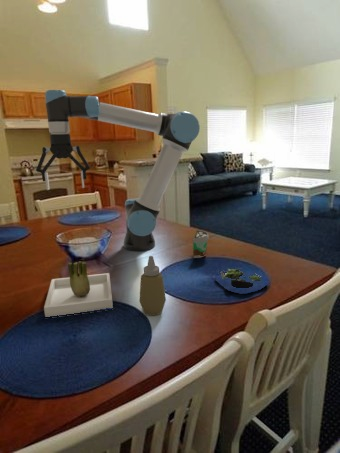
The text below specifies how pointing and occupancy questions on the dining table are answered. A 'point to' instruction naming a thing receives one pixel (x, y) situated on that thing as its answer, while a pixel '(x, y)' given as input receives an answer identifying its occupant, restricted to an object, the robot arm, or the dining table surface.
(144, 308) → the squeeze bottle
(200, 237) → the food container
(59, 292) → the bin
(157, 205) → the robot arm
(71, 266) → the fennel bulb
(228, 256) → the dining table surface
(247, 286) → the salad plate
